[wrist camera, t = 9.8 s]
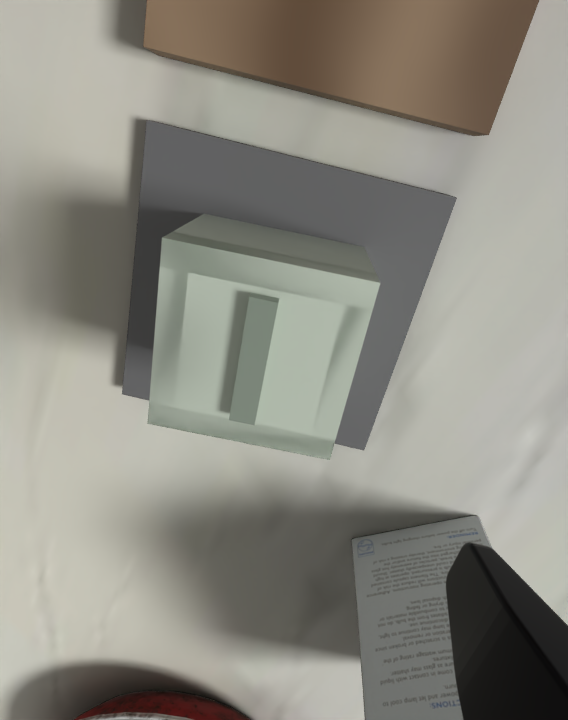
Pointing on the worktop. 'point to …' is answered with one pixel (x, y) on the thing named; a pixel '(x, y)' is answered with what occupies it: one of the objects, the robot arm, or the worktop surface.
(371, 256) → the mat
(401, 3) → the post stand
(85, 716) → the frying pan
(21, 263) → the worktop surface
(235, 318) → the sage cube with ridge
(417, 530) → the light bulb box
